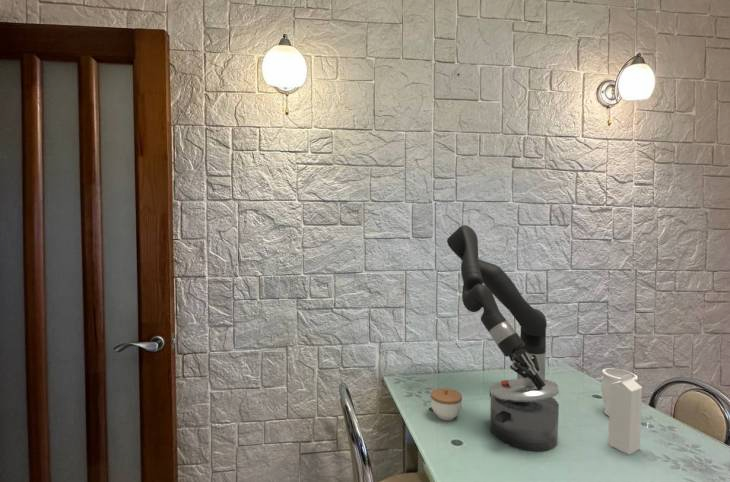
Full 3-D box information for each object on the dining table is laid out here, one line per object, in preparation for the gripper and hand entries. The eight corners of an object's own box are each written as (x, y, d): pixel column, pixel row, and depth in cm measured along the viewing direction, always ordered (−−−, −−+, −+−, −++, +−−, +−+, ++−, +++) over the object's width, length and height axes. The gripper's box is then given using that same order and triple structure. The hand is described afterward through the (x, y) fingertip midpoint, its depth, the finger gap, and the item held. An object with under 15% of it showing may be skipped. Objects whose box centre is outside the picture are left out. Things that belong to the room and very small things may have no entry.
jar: (642, 424, 129) (644, 380, 128) (608, 421, 131) (609, 378, 130) (627, 409, 139) (628, 368, 138) (595, 406, 141) (597, 366, 140)
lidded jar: (443, 426, 126) (444, 399, 126) (424, 412, 136) (424, 386, 135) (468, 419, 131) (468, 392, 131) (447, 406, 141) (448, 381, 140)
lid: (477, 397, 123) (476, 388, 124) (511, 380, 136) (509, 372, 137) (539, 405, 108) (537, 395, 108) (570, 386, 121) (568, 377, 121)
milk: (639, 449, 114) (643, 377, 113) (629, 455, 111) (632, 380, 110) (618, 439, 120) (621, 369, 119) (607, 444, 117) (610, 373, 116)
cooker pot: (466, 433, 122) (467, 399, 122) (513, 406, 140) (514, 377, 140) (531, 465, 106) (532, 427, 106) (574, 431, 124) (575, 397, 124)
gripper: (503, 336, 120) (540, 387, 111) (524, 328, 128) (561, 376, 119) (487, 348, 124) (522, 398, 115) (509, 340, 133) (543, 387, 124)
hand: (542, 387), depth 117 cm, fingers closed
